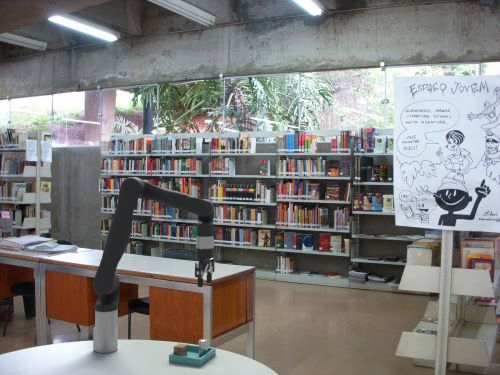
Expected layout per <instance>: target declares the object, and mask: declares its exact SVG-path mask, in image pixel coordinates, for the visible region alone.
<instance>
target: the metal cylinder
mask: <svg viewBox="0 0 500 375" xmlns="http://www.w3.org/2000/svg"><path fill="white" fill-rule="evenodd" d="M198 346H199V356H200V357H202V356H204V355H205V354H206V353H208V347H209V339H206V338H201V339H199V340H198Z"/></svg>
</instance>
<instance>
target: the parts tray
mask: <svg viewBox="0 0 500 375" xmlns="http://www.w3.org/2000/svg"><path fill="white" fill-rule="evenodd" d="M186 344H187V343H186ZM216 352H217V351H216V348H215V347H209V346H208V353H206V354H205V355H204V356H202V357H200V356H199V345H193V344H187V357H186V356H179V355H174V351H173V352H171V353H169V354H168V362H170V363H175V364H177V363H178V364H181V365H182V364H183V365H190V366H194V367H195V366H197V367H202V366H203V365H204V364H206V363H207V362H209V360H211V359H212V358H213V357H214V356H216V354H217V353H216Z"/></svg>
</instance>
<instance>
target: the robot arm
mask: <svg viewBox="0 0 500 375" xmlns="http://www.w3.org/2000/svg"><path fill="white" fill-rule="evenodd" d="M139 199H146V200H151V201H155V202H158V203H161V204H163V205H165V206H167V207H170V208H174V209H178V210H181V211H185V212H188V213H191V214H193V215H196V216H197V224H196V240H195V258H196V259H198V262H195V263H194V278H197V287H198V288H203V287H204V276H205V274H206V284H212V282H213V274H214V273H215V271H216V270H215V268H216V267H215V258H214V257H215V239H214V217H215V205H214V203H213V201H211V200H210V199H207V198H206V199H205V198H203V199H202V198H198V197H195V196H192V195H191V194H187V193H184V192H181V191H177V190H172V189H168V188H165V187H160V186H157V185H155V184H152V183H150V182H148V181H145V180H143V179H142V178H139V177H137V176H131V177H127V178H125V179H123V181H121V184H120V187H119V192H118V197H117V204H116V208H115V211H114V213H113V216H112V220H111V223H110V226H109V229H108V233H107V236H106V239H105V244H104V248H103V251H102V255H101V259H100V263H99V264H98V265H99V266H98V268H97V270H96V274H95V275H94V278H93V281H92V289H93V292H94V293H95V294H96V295H98V296H97V301H96V302H95V305H94V307H95V308H94V314H95V315H94V317H95V322H94V325H95V326H94V327H93V328H92V333H93V334H92V336H93V337H92V341H93V342H92V350H93V351H95V353H99V354H106V353H107V354H108V353H114V352H115V351H117V350H118V348H119V346H118V344H119V343H118V340H119V339H118V338H119V337H118V334H119V332H118V331H119V326H118V324H119V323H118V321H119V319H118V318H119V315H118V314H119V313H118V311H119V310H118V309H119V301H120V292H121V291H120V288H121V283H120V282H121V281H120V277H119V275H118V274H117V273H116V272H117V268H118V266H119V263H120V261H121V259H122V257H123V256H124V255H125V253H126V250H127V248H128V245H129V243H130V241H131V237H132V236H131V235H132V233H133V232H132V231H133V219H134V211H135V208H136V205H137V202H138V200H139Z"/></svg>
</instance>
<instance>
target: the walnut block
mask: <svg viewBox="0 0 500 375" xmlns="http://www.w3.org/2000/svg"><path fill="white" fill-rule="evenodd" d="M173 352H174V355H179V356H186V357H187V343H179V342H178V343H177V344H175V345H173Z"/></svg>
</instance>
